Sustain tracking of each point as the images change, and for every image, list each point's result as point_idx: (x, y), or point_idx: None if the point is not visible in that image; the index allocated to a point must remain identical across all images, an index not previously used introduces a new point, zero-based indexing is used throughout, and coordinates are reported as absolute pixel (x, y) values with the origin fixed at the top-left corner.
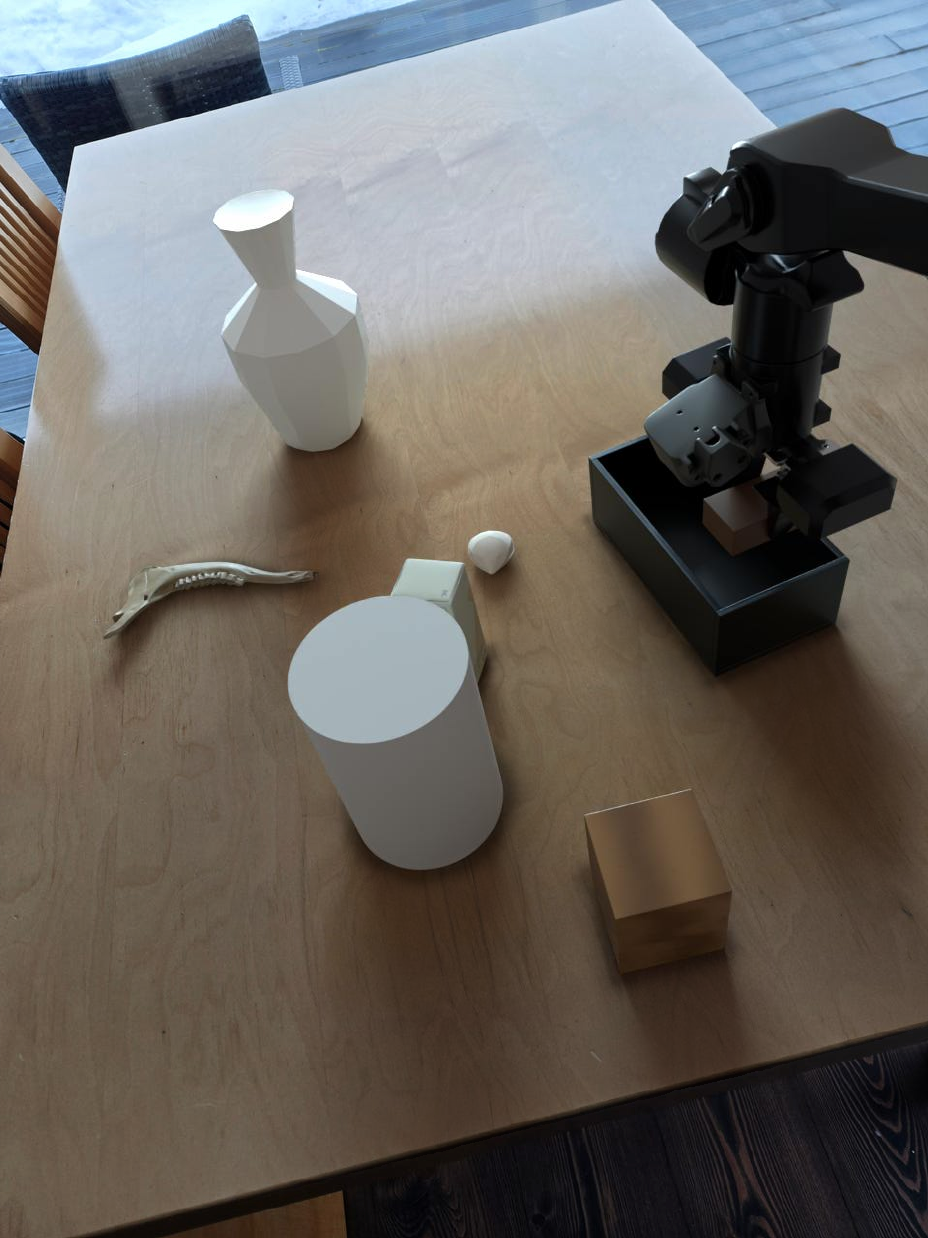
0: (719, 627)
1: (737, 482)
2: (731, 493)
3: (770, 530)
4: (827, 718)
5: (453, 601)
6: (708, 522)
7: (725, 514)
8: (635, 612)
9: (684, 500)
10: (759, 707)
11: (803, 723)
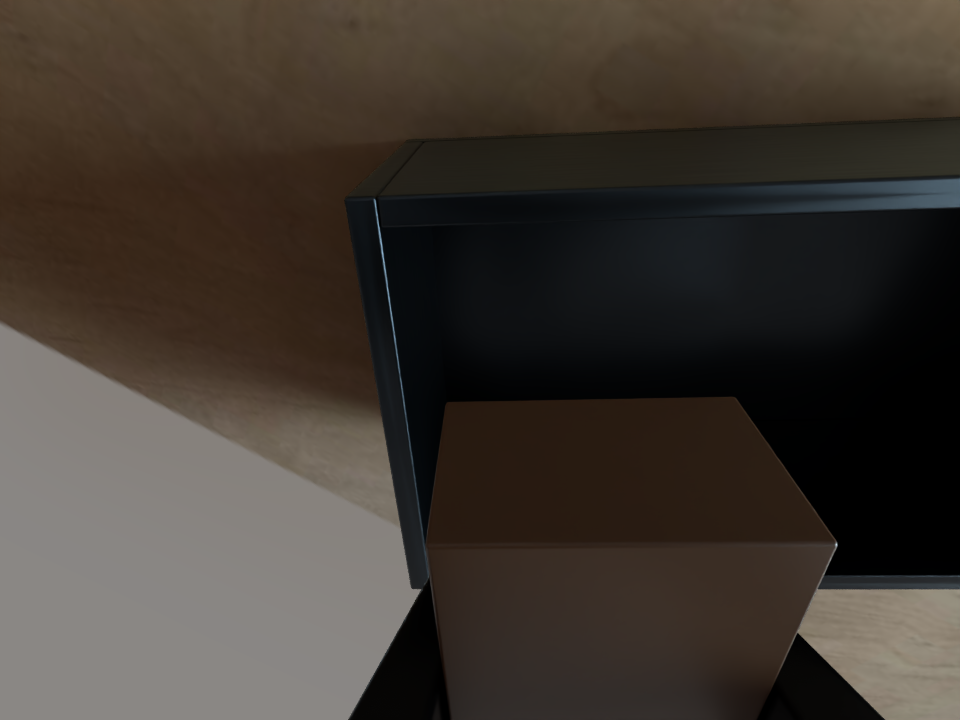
0: (359, 184)
1: (780, 716)
2: (737, 660)
3: (422, 624)
4: (229, 300)
5: None
6: (693, 432)
7: (604, 576)
8: (721, 44)
9: (932, 363)
10: (291, 191)
11: (226, 252)
